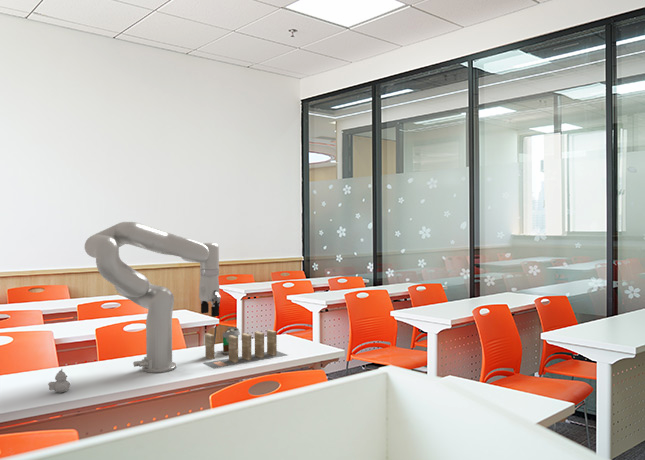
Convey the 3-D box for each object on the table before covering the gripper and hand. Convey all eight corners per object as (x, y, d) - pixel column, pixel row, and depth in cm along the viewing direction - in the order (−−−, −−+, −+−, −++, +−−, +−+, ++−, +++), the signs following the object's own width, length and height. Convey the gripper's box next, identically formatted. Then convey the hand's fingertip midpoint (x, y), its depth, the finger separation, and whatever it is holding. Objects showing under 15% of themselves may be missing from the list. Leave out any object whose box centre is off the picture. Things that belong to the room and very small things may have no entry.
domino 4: (260, 358, 224) (260, 333, 224) (254, 355, 228) (254, 331, 228) (264, 357, 225) (264, 333, 225) (258, 355, 229) (257, 331, 229)
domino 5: (273, 355, 228) (273, 332, 227) (267, 353, 232) (267, 330, 231) (276, 355, 229) (276, 331, 228) (270, 353, 233) (270, 329, 232)
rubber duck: (71, 392, 181) (71, 368, 181) (49, 396, 177) (49, 371, 177) (68, 388, 186) (68, 365, 185) (47, 392, 182) (46, 368, 182)
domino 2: (234, 362, 217) (234, 337, 217) (228, 360, 221) (228, 335, 221) (238, 362, 218) (238, 337, 218) (232, 359, 222) (232, 335, 222)
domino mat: (213, 369, 209) (213, 368, 209) (202, 364, 217) (202, 362, 217) (288, 355, 229) (288, 354, 229) (275, 351, 237) (275, 350, 237)
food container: (237, 356, 228) (237, 332, 228) (222, 356, 229) (222, 332, 228) (242, 349, 241) (242, 326, 241) (228, 349, 241) (228, 326, 241)
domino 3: (248, 360, 220) (247, 335, 220) (241, 357, 224) (241, 333, 224) (251, 359, 221) (251, 335, 221) (245, 357, 225) (245, 333, 225)
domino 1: (210, 360, 223) (210, 335, 222) (205, 357, 227) (205, 333, 226) (214, 359, 224) (214, 335, 223) (209, 357, 228) (208, 333, 227)
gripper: (192, 272, 229) (192, 312, 229) (210, 275, 215) (210, 318, 216) (208, 270, 234) (209, 310, 234) (227, 274, 220) (228, 316, 220)
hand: (210, 314), depth 225 cm, fingers open, 9 cm apart
